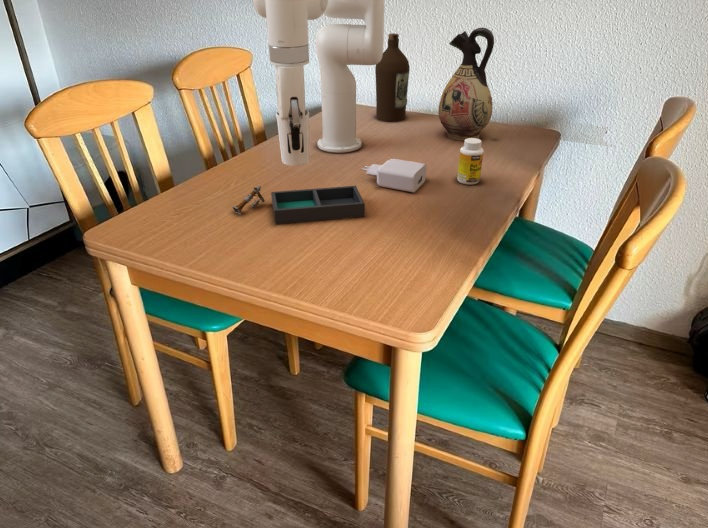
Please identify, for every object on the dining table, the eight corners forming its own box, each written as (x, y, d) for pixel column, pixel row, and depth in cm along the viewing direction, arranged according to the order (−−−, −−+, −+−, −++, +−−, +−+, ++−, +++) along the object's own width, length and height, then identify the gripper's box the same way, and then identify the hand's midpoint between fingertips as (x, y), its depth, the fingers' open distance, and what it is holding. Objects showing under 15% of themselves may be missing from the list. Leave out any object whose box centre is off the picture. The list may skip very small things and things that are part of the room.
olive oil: (368, 118, 186) (369, 34, 172) (386, 111, 193) (388, 30, 179) (395, 124, 180) (398, 38, 167) (413, 116, 187) (417, 33, 174)
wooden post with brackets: (269, 199, 131) (261, 184, 127) (245, 222, 128) (236, 208, 125) (264, 197, 132) (256, 182, 128) (240, 220, 129) (231, 205, 126)
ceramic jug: (427, 139, 169) (435, 27, 152) (449, 125, 179) (458, 20, 163) (482, 149, 161) (497, 33, 144) (501, 134, 172) (516, 24, 155)
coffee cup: (313, 165, 118) (311, 116, 113) (281, 167, 117) (277, 118, 112) (308, 154, 124) (306, 107, 118) (278, 156, 123) (274, 109, 117)
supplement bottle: (467, 187, 138) (472, 145, 133) (452, 180, 142) (456, 139, 137) (484, 182, 141) (489, 141, 135) (468, 175, 145) (473, 135, 139)
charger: (370, 171, 147) (425, 180, 142) (355, 183, 141) (412, 194, 135) (371, 153, 145) (427, 162, 139) (355, 165, 138) (413, 175, 132)
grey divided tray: (272, 204, 130) (271, 191, 129) (355, 198, 133) (355, 185, 131) (275, 224, 122) (274, 210, 120) (364, 216, 125) (364, 203, 123)
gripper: (266, 47, 115) (273, 137, 125) (272, 64, 101) (280, 164, 112) (303, 45, 116) (307, 135, 126) (314, 62, 103) (318, 161, 113)
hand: (294, 147), depth 119 cm, fingers closed on coffee cup, 4 cm apart
